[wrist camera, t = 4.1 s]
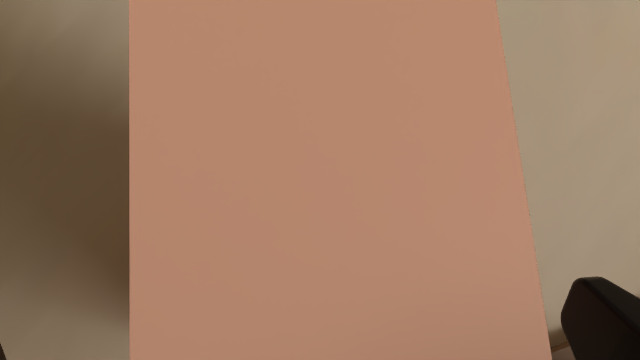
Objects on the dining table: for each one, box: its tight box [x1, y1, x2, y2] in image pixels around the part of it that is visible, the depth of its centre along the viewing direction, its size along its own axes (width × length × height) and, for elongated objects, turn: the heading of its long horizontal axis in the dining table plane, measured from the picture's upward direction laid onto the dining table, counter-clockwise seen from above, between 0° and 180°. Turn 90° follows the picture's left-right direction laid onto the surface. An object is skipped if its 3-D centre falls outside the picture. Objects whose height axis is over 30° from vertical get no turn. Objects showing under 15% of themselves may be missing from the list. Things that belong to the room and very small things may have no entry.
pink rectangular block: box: [129, 0, 552, 360], centre depth 12 cm, size 5×4×12 cm
